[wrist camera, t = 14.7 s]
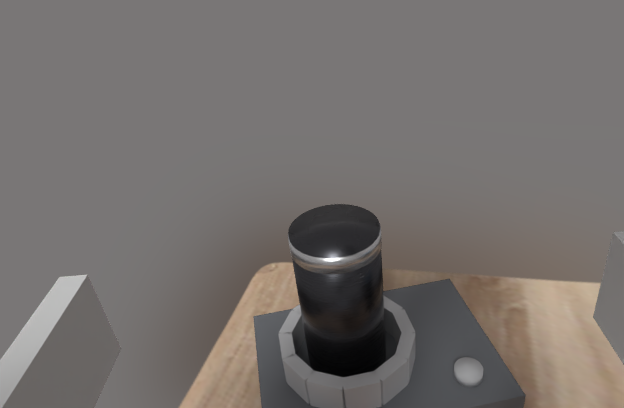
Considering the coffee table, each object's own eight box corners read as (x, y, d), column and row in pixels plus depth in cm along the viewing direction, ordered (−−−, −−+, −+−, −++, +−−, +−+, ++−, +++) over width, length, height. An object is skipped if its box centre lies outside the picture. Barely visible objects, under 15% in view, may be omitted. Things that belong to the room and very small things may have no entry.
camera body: (447, 327, 48) (450, 256, 44) (516, 448, 37) (529, 370, 33) (263, 363, 46) (248, 294, 42) (278, 502, 35) (259, 427, 31)
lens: (374, 321, 41) (366, 197, 35) (397, 379, 36) (392, 245, 30) (303, 336, 41) (282, 212, 35) (315, 396, 36) (294, 264, 30)
